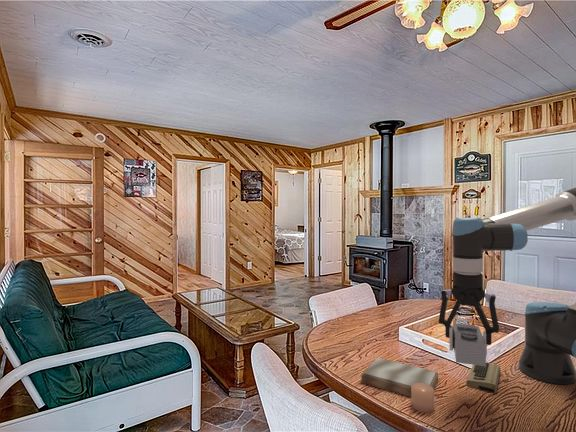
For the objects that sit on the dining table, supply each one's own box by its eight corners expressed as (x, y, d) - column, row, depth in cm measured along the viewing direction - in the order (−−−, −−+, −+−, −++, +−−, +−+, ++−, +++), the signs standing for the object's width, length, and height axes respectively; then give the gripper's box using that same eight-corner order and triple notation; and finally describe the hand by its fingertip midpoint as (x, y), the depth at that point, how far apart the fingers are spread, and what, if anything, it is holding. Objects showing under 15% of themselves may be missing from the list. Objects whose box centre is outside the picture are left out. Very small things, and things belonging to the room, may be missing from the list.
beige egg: (436, 404, 97) (436, 386, 97) (431, 415, 92) (431, 396, 92) (414, 398, 100) (414, 381, 100) (408, 408, 95) (408, 390, 95)
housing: (452, 343, 106) (452, 321, 106) (478, 346, 103) (478, 323, 103) (456, 362, 93) (456, 337, 93) (485, 366, 90) (485, 340, 90)
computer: (473, 367, 119) (473, 357, 119) (500, 373, 115) (500, 363, 115) (465, 387, 106) (465, 376, 106) (496, 395, 102) (496, 384, 102)
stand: (438, 380, 110) (438, 371, 109) (428, 401, 98) (428, 391, 98) (376, 365, 121) (376, 356, 120) (361, 382, 109) (361, 373, 109)
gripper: (511, 273, 95) (511, 355, 96) (431, 267, 106) (432, 340, 107) (510, 278, 89) (510, 365, 90) (426, 271, 100) (426, 349, 101)
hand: (467, 351), depth 98 cm, fingers closed on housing, 8 cm apart
